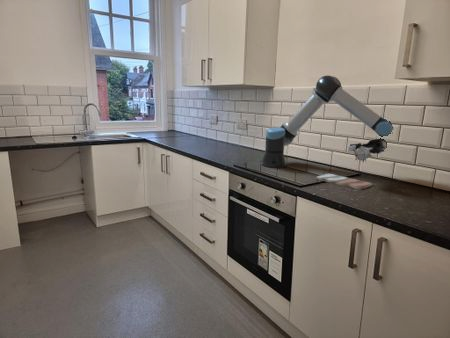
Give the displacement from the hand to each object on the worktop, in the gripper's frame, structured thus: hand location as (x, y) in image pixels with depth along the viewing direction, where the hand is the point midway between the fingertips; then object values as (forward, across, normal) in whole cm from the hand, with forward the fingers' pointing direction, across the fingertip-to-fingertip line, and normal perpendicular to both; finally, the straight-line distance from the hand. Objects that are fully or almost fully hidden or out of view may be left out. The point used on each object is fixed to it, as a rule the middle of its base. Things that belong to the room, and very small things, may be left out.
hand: (357, 150), depth 150 cm
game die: (-5, -1, -6) cm, 8 cm away
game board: (0, +6, -18) cm, 19 cm away
